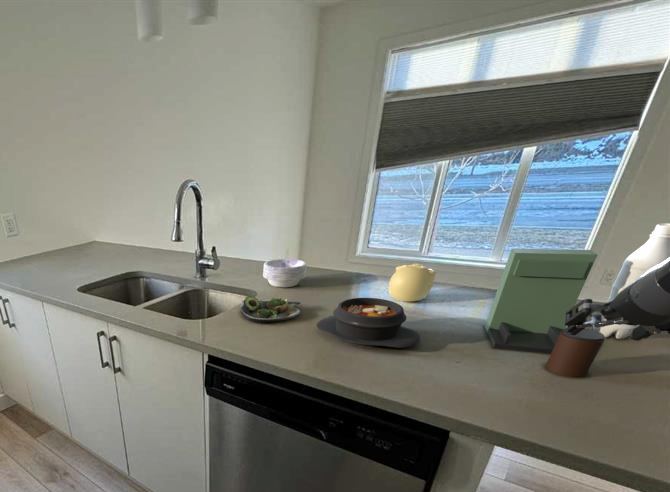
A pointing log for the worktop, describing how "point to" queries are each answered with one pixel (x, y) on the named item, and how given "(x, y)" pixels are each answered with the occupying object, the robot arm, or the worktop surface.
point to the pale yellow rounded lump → (411, 282)
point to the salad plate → (268, 310)
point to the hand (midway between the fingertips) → (602, 333)
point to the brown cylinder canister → (575, 353)
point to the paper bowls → (284, 272)
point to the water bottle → (638, 272)
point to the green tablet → (536, 297)
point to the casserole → (370, 323)
